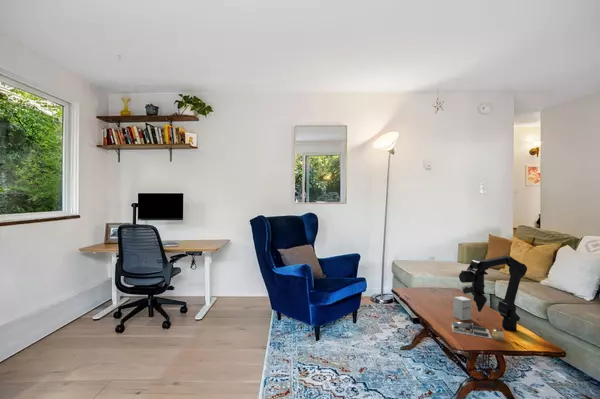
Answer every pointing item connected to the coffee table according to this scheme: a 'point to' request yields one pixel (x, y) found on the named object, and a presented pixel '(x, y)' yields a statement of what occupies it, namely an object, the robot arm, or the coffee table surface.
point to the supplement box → (462, 308)
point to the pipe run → (470, 329)
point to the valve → (498, 334)
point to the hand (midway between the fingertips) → (478, 309)
